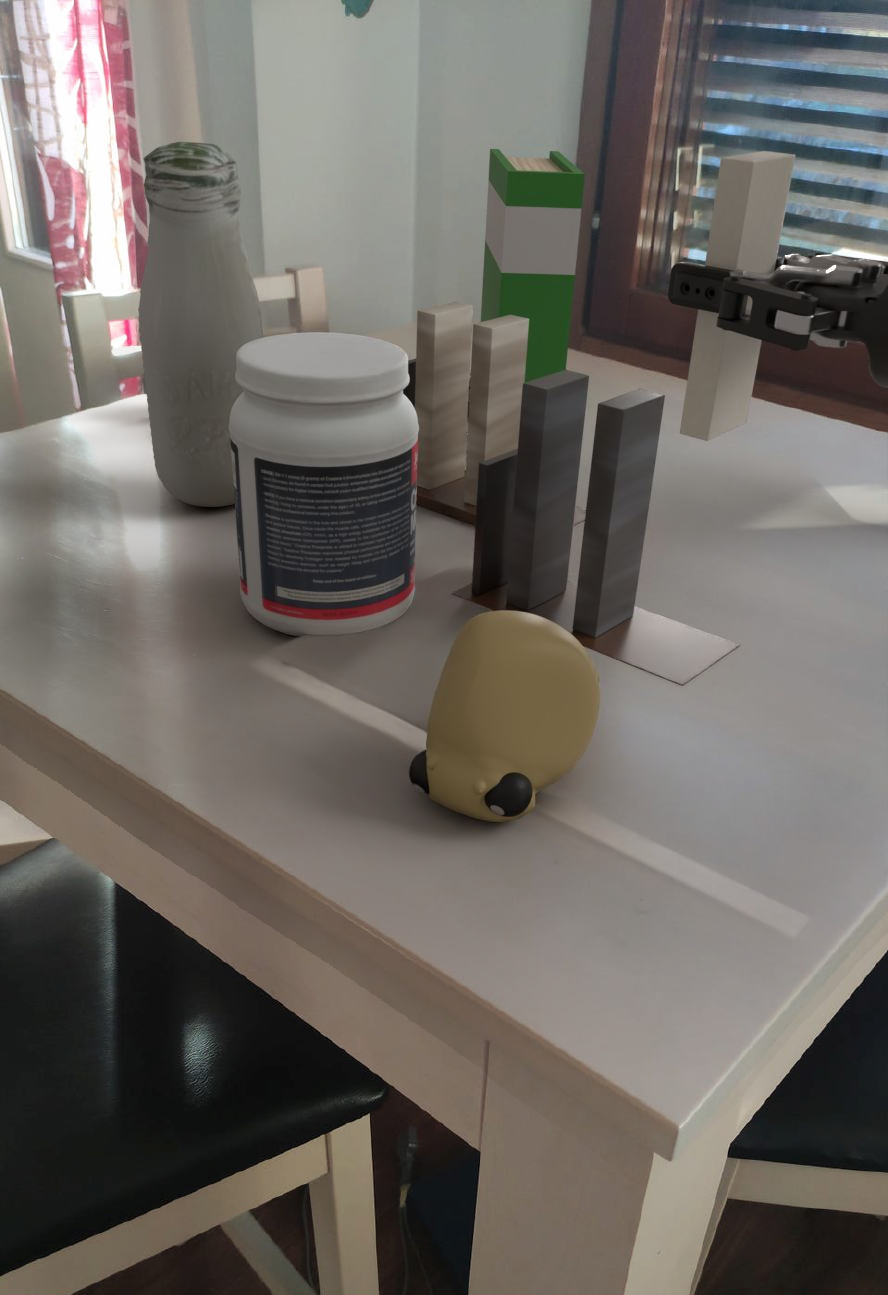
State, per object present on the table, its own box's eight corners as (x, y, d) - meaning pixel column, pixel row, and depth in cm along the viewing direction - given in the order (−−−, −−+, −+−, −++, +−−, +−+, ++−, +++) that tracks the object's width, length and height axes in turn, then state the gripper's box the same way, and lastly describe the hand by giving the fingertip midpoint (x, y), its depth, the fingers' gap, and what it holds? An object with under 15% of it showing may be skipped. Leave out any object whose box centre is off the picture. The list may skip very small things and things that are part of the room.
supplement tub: (450, 611, 87) (462, 358, 76) (317, 666, 79) (311, 393, 69) (336, 557, 94) (333, 319, 84) (205, 603, 86) (183, 346, 76)
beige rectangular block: (747, 423, 73) (796, 154, 65) (707, 441, 70) (753, 161, 62) (719, 416, 74) (763, 150, 66) (678, 433, 71) (720, 157, 63)
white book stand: (598, 524, 102) (620, 334, 93) (544, 550, 97) (563, 351, 88) (426, 467, 112) (431, 291, 103) (369, 487, 107) (369, 304, 98)
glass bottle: (158, 526, 98) (118, 149, 82) (157, 483, 106) (120, 132, 90) (276, 521, 100) (259, 151, 84) (266, 479, 108) (249, 135, 92)
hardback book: (477, 376, 139) (490, 148, 125) (539, 378, 139) (558, 151, 126) (491, 423, 124) (507, 171, 111) (560, 424, 125) (584, 174, 111)
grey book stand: (738, 657, 83) (787, 417, 73) (680, 698, 78) (725, 446, 68) (514, 573, 93) (532, 353, 83) (450, 605, 88) (461, 374, 78)
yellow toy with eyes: (430, 806, 73) (348, 766, 63) (502, 629, 73) (432, 563, 64) (569, 860, 68) (503, 826, 59) (645, 671, 69) (592, 607, 59)
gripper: (1052, 233, 63) (765, 192, 71) (955, 270, 53) (640, 218, 62) (1009, 375, 67) (743, 321, 76) (912, 432, 58) (623, 362, 66)
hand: (698, 275), depth 69 cm, fingers closed on beige rectangular block, 5 cm apart
